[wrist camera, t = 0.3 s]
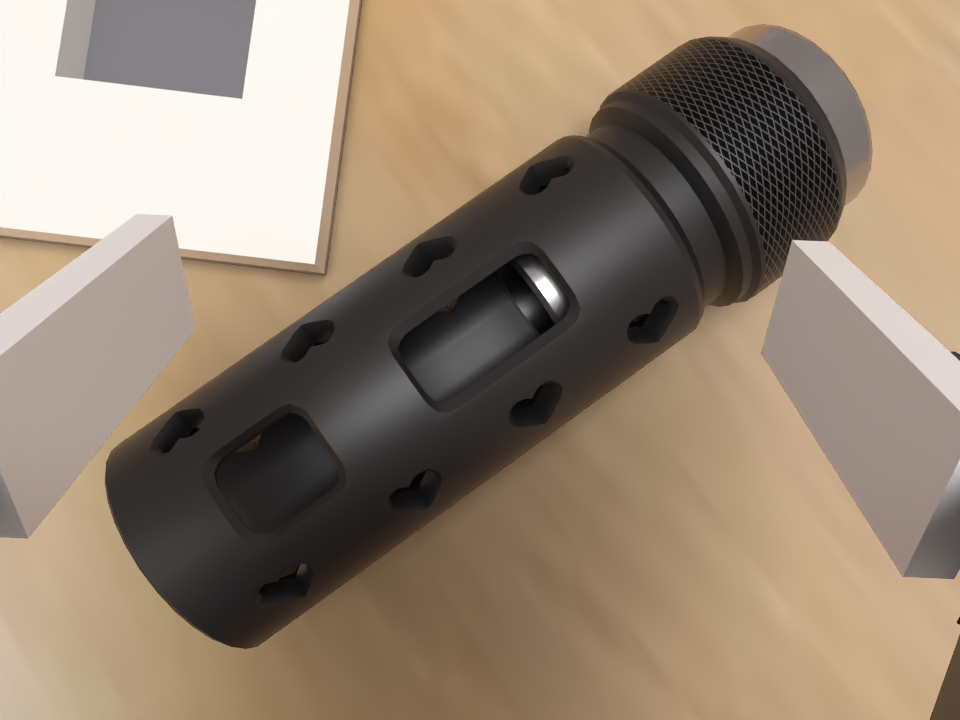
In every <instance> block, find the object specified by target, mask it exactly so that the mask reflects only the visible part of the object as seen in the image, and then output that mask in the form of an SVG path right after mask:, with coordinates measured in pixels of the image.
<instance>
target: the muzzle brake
mask: <svg viewBox="0 0 960 720" xmlns="http://www.w3.org/2000/svg"><path fill="white" fill-rule="evenodd" d="M871 161H872V142H871V132H870V128H869V124H868V121H867V117H866V114H865V110H864V108H863V106H862V103H861V101H860V99H859V97H858V94H857V92H856V90H855V89H854V87H853V85H852V84H851V82H850V81H849V79H848V78H847V76H846V75H845V73H844V72H843V70H842V69H841V68H840V67H839V66H838V65H837V64H836V63H835V61H834V60H833V59H832V58H831V57H830V56H829V55H828V54H827V53H826V52H824V51H823V50H822V49H821V48H820V47H818V46H817V45H816V44H815V43H813V42H812V41H810V40H808V39H807V38H805V37H803V36H802V35H800V34H798V33H796V32H794V31H791V30H788V29H786V28H783V27H780V26H774V25H765V24H761V25H755V26H749V27H744V28H742V29H740V30H738V31H736V32H735V33H733V34H731V35H730V36H728V37H704V38H698V39H693V40H690V41H688V42H686V43H684V44H683V45H681V46H679V47H677V48H676V49H675V50H673V51H672V52H670V53H669V54H667V55H666V56H664V57H663V58H662V59H660V60H659V61H657V62H656V63H654V64H653V65H651V66H650V67H649V68H647V69H646V70H644V71H643V72H641V73H640V74H638V75H637V76H636V77H634V78H633V79H631V80H630V81H628V82H627V83H625V84H624V85H623V86H621V87H620V88H618V89H617V90H615V91H614V92H612V93H611V94H610V95H609V96H608V97H607V98H606V99H605V101H604V102H603V103H602V105H601V106H600V110H599V111H598V112H597V113H596V115H595V116H594V117H593V119H592V122H591V126H590V129H589V135H587V136H586V137H583V136H567V137H563V138H561V139H559V140H557V141H555V142H554V143H553V144H551V145H550V146H548V147H547V148H545V149H544V150H542V151H541V152H540V153H538V154H537V155H535V156H534V157H532V158H531V159H530V160H528V161H527V162H525V163H524V164H522V165H521V166H519V167H518V168H517V169H515V170H514V171H512V172H511V173H509V174H508V175H506V176H505V177H504V178H502V179H501V180H499V181H498V182H496V183H495V184H493V185H492V186H491V187H489V188H488V189H486V190H485V191H483V192H482V193H481V194H479V195H478V196H476V197H475V198H473V199H472V200H470V201H469V202H468V203H466V204H465V205H463V206H462V207H460V208H459V209H457V210H456V211H455V212H453V213H452V214H450V215H449V216H447V217H446V218H444V219H443V220H442V221H440V222H439V223H437V224H436V225H434V226H433V227H431V228H430V229H429V230H427V231H426V232H424V233H423V234H421V235H420V236H419V237H417V238H416V239H414V240H413V241H411V242H410V243H408V244H407V245H406V246H404V247H403V248H401V249H400V250H398V251H397V252H395V253H394V254H393V255H391V256H390V257H388V258H387V259H385V260H384V261H382V262H381V263H380V264H378V265H377V266H375V267H374V268H372V269H371V270H369V271H368V272H367V273H365V274H364V275H362V276H361V277H359V278H358V279H357V280H355V281H354V282H352V283H351V284H349V285H348V286H346V287H345V288H344V289H342V290H341V291H339V292H338V293H336V294H335V295H333V296H332V297H331V298H329V299H328V300H326V301H325V302H323V303H322V304H320V305H319V306H318V307H316V308H315V309H313V310H312V311H310V312H309V313H307V314H306V315H305V316H303V317H302V318H300V319H299V320H297V321H296V322H295V323H293V324H292V325H290V326H289V327H287V328H286V329H284V330H283V331H282V332H280V333H279V334H277V335H276V336H274V337H273V338H271V339H270V340H269V341H267V342H266V343H264V344H263V345H261V346H260V347H258V348H257V349H256V350H254V351H253V352H251V353H250V354H248V355H247V356H245V357H244V358H243V359H241V360H240V361H238V362H237V363H235V364H234V365H233V366H231V367H230V368H228V369H227V370H225V371H224V372H222V373H221V374H220V375H218V376H217V377H215V378H214V379H212V380H211V381H209V382H208V383H207V384H205V385H204V386H202V387H201V388H199V389H198V390H196V391H195V392H194V393H192V394H191V395H189V396H188V397H186V398H185V399H183V400H182V401H181V402H179V403H178V404H176V405H175V406H173V407H172V408H171V409H169V410H168V411H166V412H165V413H163V414H162V415H160V416H159V417H158V418H156V419H155V420H153V421H152V422H150V423H149V424H147V425H146V426H145V427H143V428H142V429H140V430H139V431H137V432H136V433H134V434H133V435H132V436H130V437H129V438H127V439H126V440H124V441H123V442H121V443H120V444H119V445H118V446H117V447H115V448H114V449H113V450H112V451H111V453H110V455H109V458H108V460H107V462H106V474H105V486H106V493H107V499H108V504H109V507H110V510H111V513H112V516H113V519H114V522H115V525H116V527H117V529H118V531H119V533H120V535H121V537H122V540H123V542H124V544H125V546H126V547H127V549H128V551H129V552H130V554H131V556H132V557H133V559H134V561H135V562H136V564H137V566H138V567H139V569H140V570H141V572H142V573H143V574H144V576H145V577H146V578H147V579H148V581H149V582H150V583H151V585H152V586H153V587H154V589H155V590H156V591H157V593H158V594H159V595H160V596H161V597H162V598H163V599H164V600H165V601H166V602H167V603H168V604H169V605H170V607H171V608H172V609H173V610H174V611H175V612H176V613H177V614H179V615H180V616H181V617H182V618H183V619H184V620H186V621H187V622H188V623H189V624H190V625H192V626H193V627H194V628H196V629H197V630H199V631H200V632H202V633H203V634H205V635H206V636H208V637H209V638H211V639H213V640H216V641H218V642H221V643H223V644H225V645H228V646H231V647H237V648H244V649H247V648H252V647H257V646H259V645H260V644H261V643H263V642H264V641H266V640H267V639H268V638H270V637H271V636H273V635H274V634H275V633H277V632H278V631H279V630H281V629H282V628H284V627H285V626H286V625H288V624H289V623H290V622H292V621H293V620H295V619H296V618H297V617H299V616H300V615H302V614H303V613H304V612H306V611H307V610H308V609H310V608H311V607H313V606H314V605H315V604H317V603H318V602H319V601H321V600H322V599H324V598H325V597H326V596H328V595H329V594H330V593H332V592H333V591H335V590H336V589H337V588H339V587H340V586H342V585H343V584H344V583H346V582H347V581H348V580H350V579H351V578H353V577H354V576H355V575H357V574H358V573H359V572H361V571H362V570H364V569H365V568H366V567H368V566H369V565H371V564H372V563H373V562H375V561H376V560H377V559H379V558H380V557H382V556H383V555H384V554H386V553H387V552H388V551H390V550H391V549H393V548H394V547H395V546H397V545H398V544H399V543H401V542H402V541H404V540H405V539H406V538H408V537H409V536H411V535H412V534H413V533H415V532H416V531H417V530H419V529H420V528H422V527H423V526H424V525H426V524H427V523H428V522H430V521H431V520H433V519H434V518H435V517H437V516H438V515H439V514H441V513H442V512H444V511H445V510H446V509H448V508H449V507H451V506H452V505H453V504H455V503H456V502H457V501H459V500H460V499H462V498H463V497H464V496H466V495H467V494H468V493H470V492H471V491H473V490H474V489H475V488H477V487H478V486H480V485H481V484H482V483H484V482H485V481H486V480H488V479H489V478H491V477H492V476H493V475H495V474H496V473H497V472H499V471H500V470H502V469H503V468H504V467H506V466H507V465H508V464H510V463H511V462H513V461H514V460H515V459H517V458H518V457H520V456H521V455H522V454H524V453H525V452H526V451H528V450H529V449H531V448H532V447H533V446H535V445H536V444H537V443H539V442H540V441H542V440H543V439H544V438H546V437H547V436H549V435H550V434H551V433H553V432H554V431H555V430H557V429H558V428H560V427H561V426H562V425H564V424H565V423H566V422H568V421H569V420H571V419H572V418H573V417H575V416H576V415H577V414H579V413H580V412H582V411H583V410H584V409H586V408H587V407H589V406H590V405H591V404H593V403H594V402H595V401H597V400H598V399H600V398H601V397H602V396H604V395H605V394H606V393H608V392H609V391H611V390H612V389H613V388H615V387H616V386H618V385H619V384H620V383H622V382H623V381H624V380H626V379H627V378H629V377H630V376H631V375H633V374H634V373H635V372H637V371H638V370H640V369H641V368H642V367H644V366H645V365H646V364H648V363H649V362H651V361H652V360H653V359H655V358H656V357H658V356H659V355H660V354H662V353H663V352H664V351H666V350H667V349H669V348H670V347H671V346H673V345H674V344H675V343H677V342H678V341H680V340H681V339H682V338H684V337H685V336H687V335H688V334H689V333H691V332H692V331H693V330H695V329H696V327H697V326H698V324H699V322H700V320H701V318H702V315H703V308H704V306H706V305H707V304H708V305H713V306H719V307H720V306H727V305H730V304H732V303H738V302H745V301H747V300H749V299H750V298H752V297H753V296H755V295H756V294H758V293H759V292H760V291H762V290H763V289H765V288H766V287H767V286H769V285H770V284H772V283H773V282H774V281H776V280H777V279H778V278H780V277H781V276H782V275H783V271H784V268H785V264H786V260H787V257H788V253H789V249H790V246H791V242H792V240H803V241H828V240H829V239H830V237H831V236H832V234H833V233H834V232H835V230H836V229H837V226H838V223H839V220H840V217H841V214H842V211H843V208H844V206H845V205H847V204H848V203H849V202H851V201H852V200H853V199H855V198H856V197H857V195H858V194H859V192H860V191H861V190H862V188H863V187H864V185H865V183H866V181H867V178H868V175H869V172H870V169H871ZM449 303H450V305H449V307H444V306H446V305H447V304H449ZM254 438H255V442H254V443H249V442H250V441H251V440H253V439H254Z"/></svg>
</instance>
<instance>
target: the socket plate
mask: <svg viewBox="0 0 960 720" xmlns="http://www.w3.org/2000/svg"><path fill="white" fill-rule="evenodd" d="M361 5H362V0H0V237H5V238H13V239H22V240H30V241H39V242H47V243H56V244H64V245H73V246H81V247H90V248H91V247H92V246H93V245H95V244H96V243H98V242H99V241H100V240H102V239H103V238H104V237H106V236H107V235H108V234H110V233H111V232H113V231H114V230H115V229H117V228H118V227H119V226H121V225H122V224H124V223H125V222H126V221H128V220H129V219H130V218H132V217H133V216H134V215H136V214H148V215H172V216H173V221H174V226H175V231H176V236H177V241H178V246H179V251H180V256H181V258H183V259H192V260H200V261H209V262H217V263H226V264H234V265H243V266H251V267H260V268H268V269H277V270H285V271H294V272H302V273H311V274H319V275H326V273H327V265H328V257H329V250H330V242H331V234H332V227H333V219H334V211H335V204H336V196H337V189H338V181H339V173H340V166H341V158H342V150H343V143H344V135H345V128H346V120H347V112H348V105H349V97H350V89H351V82H352V74H353V66H354V59H355V51H356V44H357V36H358V28H359V21H360V13H361Z"/></svg>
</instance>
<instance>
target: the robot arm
mask: <svg viewBox="0 0 960 720" xmlns="http://www.w3.org/2000/svg"><path fill="white" fill-rule="evenodd" d="M194 331H195V325H194V320H193V315H192V310H191V305H190V300H189V295H188V290H187V285H186V281H185V276H184V271H183V266H182V261H181V256H180V251H179V246H178V241H177V236H176V231H175V226H174V221H173V216H172V215H148V214H136V215H134V216H133V217H132V218H130V219H129V220H128V221H126V222H125V223H124V224H122V225H121V226H119V227H118V228H117V229H115V230H114V231H113V232H111V233H110V234H108V235H107V236H106V237H104V238H103V239H102V240H100V241H99V242H98V243H96V244H95V245H93V246H92V247H91V248H89V249H88V250H87V251H85V252H84V253H83V254H81V255H80V256H78V257H77V258H76V259H74V260H73V261H72V262H70V263H69V264H67V265H66V266H65V267H63V268H62V269H61V270H59V271H58V272H57V273H55V274H54V275H52V276H51V277H50V278H48V279H47V280H46V281H44V282H43V283H41V284H40V285H39V286H37V287H36V288H35V289H33V290H32V291H31V292H29V293H28V294H26V295H25V296H24V297H22V298H21V299H20V300H18V301H17V302H16V303H14V304H13V305H11V306H10V307H9V308H7V309H6V310H5V311H3V312H2V313H0V537H10V538H29V537H30V536H31V534H32V533H33V532H34V531H35V529H36V528H37V527H38V526H39V524H40V523H41V522H42V521H43V519H44V518H45V517H46V516H47V514H48V513H49V512H50V511H51V509H52V508H53V507H54V506H55V504H56V503H57V502H58V501H59V499H60V498H61V497H62V496H63V494H64V493H65V492H66V491H67V489H68V488H69V487H70V486H71V484H72V483H73V482H74V481H75V479H76V478H77V477H78V476H79V474H80V473H81V472H82V471H83V469H84V468H85V467H86V466H87V464H88V463H89V462H90V461H91V459H92V458H93V457H94V456H95V454H96V453H97V452H98V451H99V449H100V448H101V447H102V446H103V444H104V443H105V442H106V441H107V439H108V438H109V437H110V436H111V435H112V433H113V432H114V431H115V430H116V428H117V427H118V426H119V425H120V423H121V422H122V421H123V420H124V418H125V417H126V416H127V415H128V413H129V412H130V411H131V410H132V408H133V407H134V406H135V405H136V403H137V402H138V401H139V400H140V398H141V397H142V396H143V395H144V393H145V392H146V391H147V390H148V388H149V387H150V386H151V385H152V383H153V382H154V381H155V380H156V378H157V377H158V376H159V375H160V373H161V372H162V371H163V370H164V368H165V367H166V366H167V365H168V363H169V362H170V361H171V360H172V358H173V357H174V356H175V355H176V353H177V352H178V351H179V350H180V348H181V347H182V346H183V345H184V343H185V342H186V341H187V340H188V338H189V337H190V336H191V335H192V333H193V332H194ZM761 354H762V355H763V357H764V359H765V360H766V362H767V363H768V365H769V366H770V368H771V370H772V371H773V373H774V374H775V376H776V378H777V379H778V381H779V382H780V384H781V385H782V387H783V389H784V390H785V392H786V393H787V395H788V397H789V398H790V400H791V401H792V403H793V404H794V406H795V408H796V409H797V411H798V412H799V414H800V415H801V417H802V419H803V420H804V422H805V423H806V425H807V427H808V428H809V430H810V431H811V433H812V434H813V436H814V438H815V439H816V441H817V442H818V444H819V445H820V447H821V449H822V450H823V452H824V453H825V455H826V457H827V458H828V460H829V461H830V463H831V464H832V466H833V468H834V469H835V471H836V472H837V474H838V476H839V477H840V479H841V480H842V482H843V483H844V485H845V487H846V488H847V490H848V491H849V493H850V494H851V496H852V498H853V499H854V501H855V502H856V504H857V506H858V507H859V509H860V510H861V512H862V513H863V515H864V517H865V518H866V520H867V521H868V523H869V525H870V526H871V528H872V529H873V531H874V532H875V534H876V536H877V537H878V539H879V540H880V542H881V543H882V545H883V547H884V548H885V550H886V551H887V553H888V555H889V556H890V558H891V559H892V561H893V562H894V564H895V566H896V567H897V569H898V570H899V572H900V574H901V575H902V577H921V578H944V579H954V578H955V576H956V575H957V573H958V571H959V569H960V354H958V353H956V352H949V351H948V350H947V349H946V348H945V347H944V346H943V345H942V344H941V343H940V342H939V341H937V340H936V339H935V338H934V337H933V336H932V335H931V334H930V333H929V332H928V331H926V330H925V329H924V328H923V327H922V326H921V325H920V324H919V323H918V322H917V321H915V320H914V319H913V318H912V317H911V316H910V315H909V314H908V313H907V312H906V311H904V310H903V309H902V308H901V307H900V306H899V305H898V304H897V303H896V302H895V301H893V300H892V299H891V298H890V297H889V296H888V295H887V294H886V293H885V292H884V291H882V290H881V289H880V288H879V287H878V286H877V285H876V284H875V283H874V282H873V281H871V280H870V279H869V278H868V277H867V276H866V275H865V274H864V273H863V272H862V271H860V270H859V269H858V268H857V267H856V266H855V265H854V264H853V263H852V262H851V261H849V260H848V259H847V258H846V257H845V256H844V255H843V254H842V253H841V252H840V251H838V250H837V249H836V248H835V247H834V246H833V245H832V244H831V243H830V242H828V241H803V240H792V242H791V246H790V249H789V253H788V257H787V260H786V264H785V268H784V271H783V275H782V279H781V282H780V286H779V289H778V293H777V297H776V300H775V304H774V308H773V311H772V315H771V319H770V322H769V326H768V329H767V333H766V337H765V340H764V344H763V348H762V351H761ZM957 623H958V624H960V617H959V619H958V621H957ZM930 720H960V636H959V639H958V641H957V644H956V647H955V650H954V653H953V655H952V658H951V661H950V664H949V667H948V670H947V672H946V675H945V678H944V681H943V684H942V686H941V689H940V692H939V695H938V698H937V700H936V703H935V706H934V709H933V712H932V715H931V717H930Z"/></svg>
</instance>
